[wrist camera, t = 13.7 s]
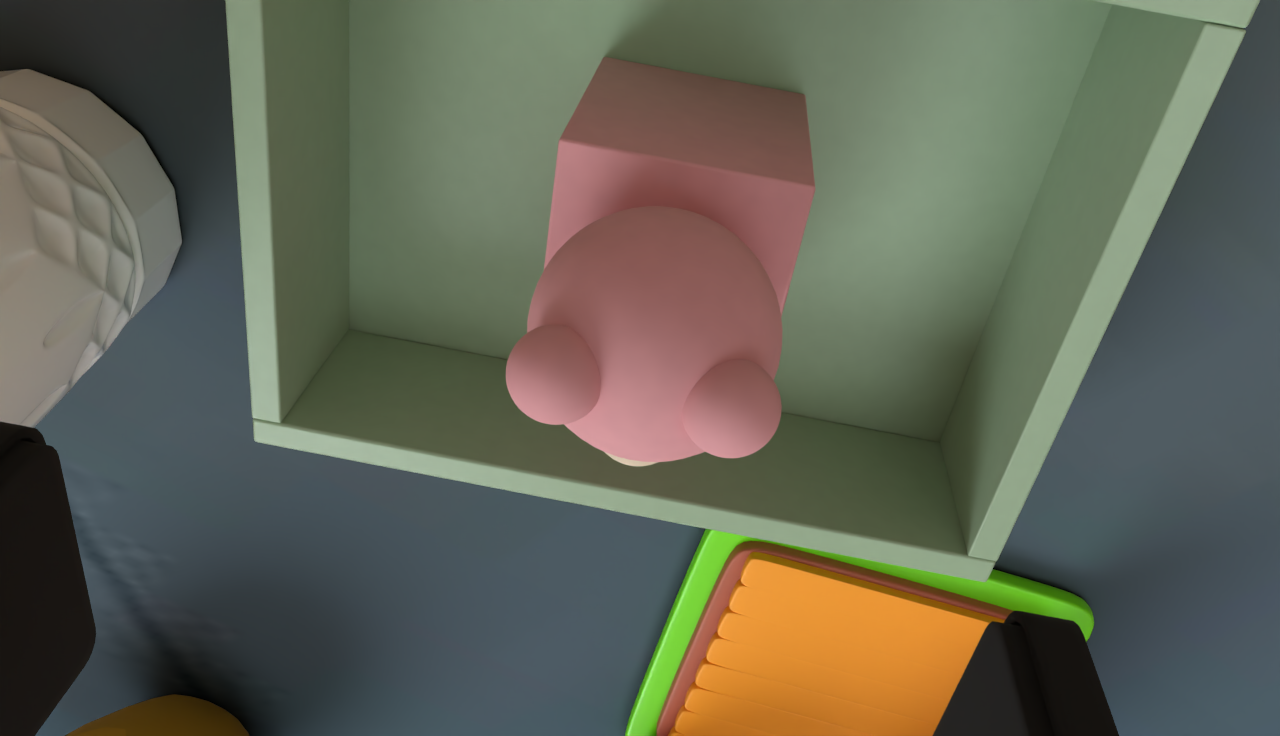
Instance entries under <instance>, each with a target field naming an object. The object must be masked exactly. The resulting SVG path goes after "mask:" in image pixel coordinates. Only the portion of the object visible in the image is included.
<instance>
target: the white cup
mask: <svg viewBox="0 0 1280 736" xmlns="http://www.w3.org/2000/svg"><path fill="white" fill-rule="evenodd" d="M181 244H182V236H181V230H180V223H179V216H178V209H177V202H176V195H175V189H174V187H173V185H172V184H171V182H170V180H169V179H168V177H167V175H166V174H165V172H164V170H163V169H162V167H161V165H160V164H159V162H158V160H157V159H156V157H155V155H154V154H153V152H152V151H151V149H150V147H149V146H148V144H147V142H146V141H145V139H144V137H143V136H142V134H141V133H140V132H138V131H137V130H136V129H135V128H134V127H132V126H131V125H130V124H129V123H128V122H126V121H125V120H124V119H123V118H122V117H120V116H119V115H118V114H117V113H116V112H114V111H113V110H112V109H111V108H110V107H108V106H107V105H106V104H105V103H104V102H102V101H101V100H100V99H99V98H98V97H96V96H95V95H94V94H93V93H91V92H90V91H88V90H86V89H83V88H80V87H77V86H75V85H72V84H69V83H66V82H64V81H61V80H58V79H55V78H53V77H50V76H47V75H44V74H41V73H39V72H36V71H33V70H30V69H19V70H9V71H0V422H6V423H11V424H17V425H22V426H27V427H32V428H34V427H35V426H36V425H37V424H38V423H39V422H40V421H41V420H42V419H43V418H44V417H45V416H46V415H47V414H48V413H49V412H50V411H51V410H52V409H53V408H54V407H55V406H56V405H57V404H58V403H59V402H60V401H61V400H62V399H63V398H64V397H65V395H66V394H67V393H68V392H69V391H70V390H71V388H72V387H73V386H74V385H75V383H76V382H77V381H78V379H79V378H80V377H81V376H82V375H83V374H84V373H85V372H86V371H87V370H88V369H89V368H90V367H91V366H92V365H93V364H94V363H95V362H96V361H97V360H98V359H99V358H100V357H101V356H102V355H103V354H104V353H105V351H106V350H107V349H108V348H109V346H110V345H111V344H112V342H113V341H114V340H115V338H116V337H117V336H118V334H119V333H120V331H121V330H122V329H123V327H124V326H125V325H126V324H127V323H128V322H129V321H130V320H131V319H132V318H133V317H134V316H135V315H136V314H137V313H138V312H139V311H140V310H141V309H142V308H143V307H144V306H145V305H146V304H147V303H148V302H149V301H150V300H151V299H152V298H153V297H154V296H155V295H156V294H157V293H158V292H159V291H160V290H161V289H162V288H163V287H164V285H165V284H166V281H167V279H168V276H169V274H170V271H171V269H172V266H173V264H174V261H175V259H176V256H177V254H178V251H179V249H180V246H181Z"/></svg>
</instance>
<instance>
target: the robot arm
mask: <svg viewBox="0 0 1280 736" xmlns="http://www.w3.org/2000/svg"><path fill="white" fill-rule="evenodd" d="M95 637H96V628H95V623H94V618H93V614H92V609H91V604H90V600H89V595H88V590H87V586H86V581H85V576H84V572H83V567H82V562H81V558H80V553H79V548H78V544H77V539H76V534H75V530H74V525H73V520H72V516H71V511H70V506H69V502H68V497H67V492H66V488H65V483H64V478H63V474H62V469H61V464H60V460H59V456H58V453H57V451H56V450H55V449H54V448H53V447H52V446H48V445H46V443H45V440H44V438H43V435H42V434H41V433H40V432H39V431H38V430H37V429H35V428H32V427H27V426H22V425H17V424H11V423H6V422H0V736H35V735H36V733H37V732H38V730H39V729H40V728H41V726H42V725H43V723H44V722H45V721H46V719H47V718H48V717H49V715H50V714H51V712H52V711H53V710H54V708H55V707H56V705H57V704H58V703H59V701H60V700H61V698H62V697H63V696H64V694H65V693H66V692H67V690H68V689H69V687H70V686H71V685H72V683H73V682H74V680H75V679H76V678H77V676H78V675H79V674H80V672H81V671H82V669H83V668H84V666H85V665H86V663H87V661H88V660H89V658H90V655H91V653H92V650H93V647H94V643H95ZM933 736H1119V734H1118V731H1117V728H1116V726H1115V723H1114V720H1113V717H1112V714H1111V711H1110V708H1109V706H1108V703H1107V700H1106V697H1105V694H1104V691H1103V688H1102V686H1101V683H1100V680H1099V677H1098V674H1097V671H1096V669H1095V666H1094V663H1093V660H1092V657H1091V654H1090V651H1089V649H1088V646H1087V643H1086V640H1085V637H1084V634H1083V632H1082V630H1081V629H1080V627H1079V625H1078V624H1076V623H1075V622H1074V621H1071V620H1066V619H1060V618H1055V617H1050V616H1044V615H1039V614H1034V613H1028V612H1023V611H1013V612H1012V613H1010V614H1009V615H1008V617H1007V618H1006V620H1005V621H1004V623H1001V622H994V621H992V622H991V623H989V624H988V626H987V627H986V629H985V630H984V633H983V635H982V637H981V639H980V641H979V643H978V645H977V647H976V649H975V651H974V653H973V655H972V657H971V659H970V661H969V663H968V665H967V667H966V669H965V671H964V673H963V675H962V677H961V679H960V681H959V683H958V685H957V687H956V689H955V691H954V693H953V695H952V697H951V699H950V701H949V703H948V705H947V707H946V709H945V711H944V713H943V715H942V717H941V719H940V721H939V723H938V725H937V727H936V730H935V732H934V734H933Z"/></svg>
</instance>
